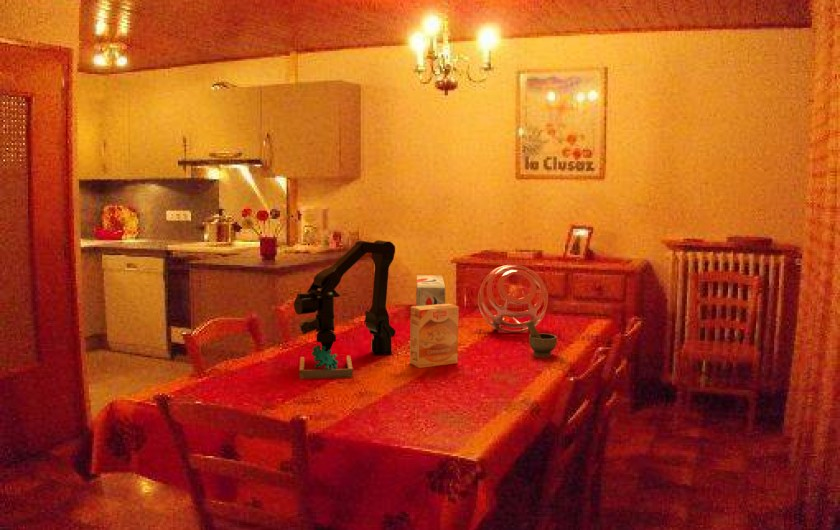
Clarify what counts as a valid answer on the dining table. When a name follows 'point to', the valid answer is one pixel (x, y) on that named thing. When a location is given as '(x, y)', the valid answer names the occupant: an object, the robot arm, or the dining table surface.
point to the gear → (324, 357)
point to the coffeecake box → (434, 335)
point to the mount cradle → (326, 371)
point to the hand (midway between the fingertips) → (325, 356)
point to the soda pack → (430, 290)
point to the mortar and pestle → (541, 341)
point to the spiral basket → (513, 299)
